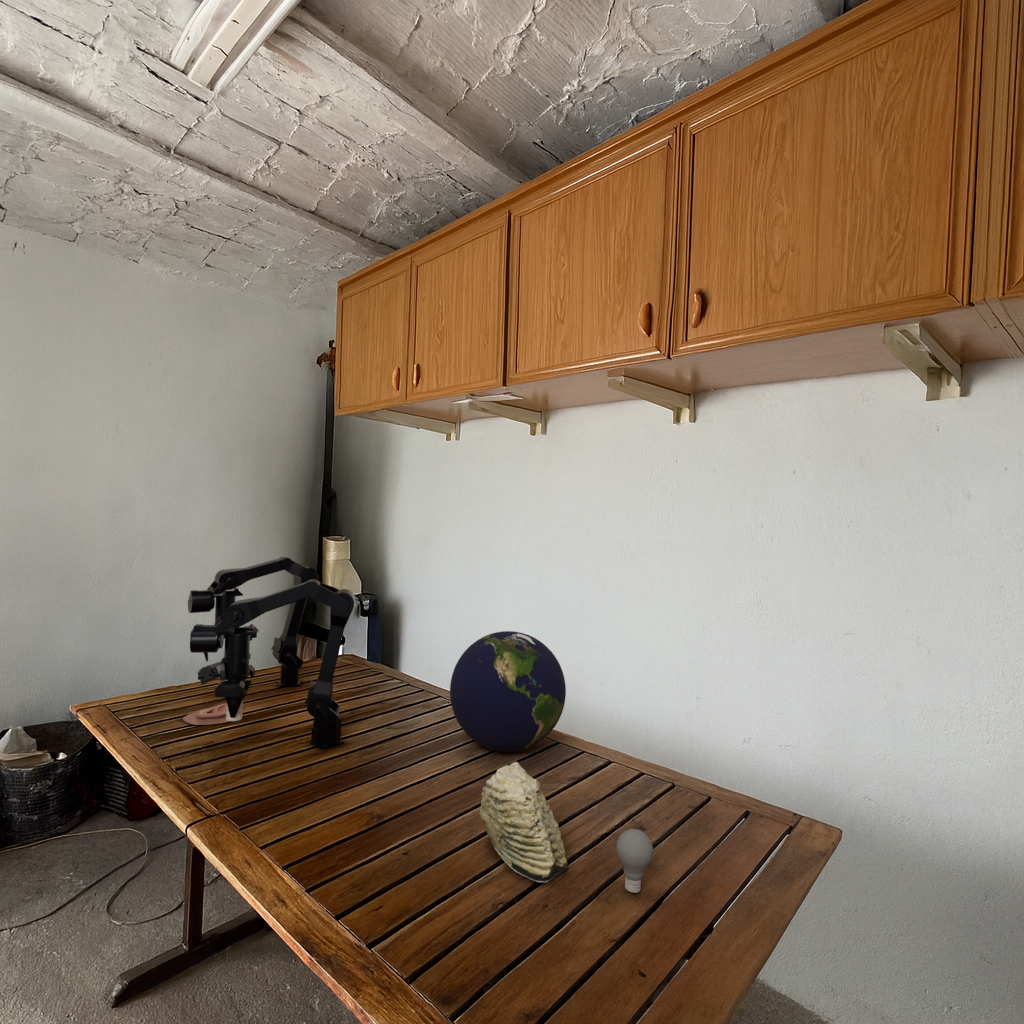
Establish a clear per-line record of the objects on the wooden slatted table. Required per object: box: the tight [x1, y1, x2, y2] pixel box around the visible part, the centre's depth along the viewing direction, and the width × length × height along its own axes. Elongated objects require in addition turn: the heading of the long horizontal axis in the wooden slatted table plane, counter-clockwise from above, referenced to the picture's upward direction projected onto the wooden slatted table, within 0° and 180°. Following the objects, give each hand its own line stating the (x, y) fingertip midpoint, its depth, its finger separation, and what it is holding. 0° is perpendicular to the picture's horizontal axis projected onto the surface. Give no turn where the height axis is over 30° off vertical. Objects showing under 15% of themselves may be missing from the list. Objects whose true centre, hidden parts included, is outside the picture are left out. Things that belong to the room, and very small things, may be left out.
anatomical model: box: [182, 702, 230, 726], centre depth 176 cm, size 13×4×12 cm
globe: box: [449, 630, 567, 753], centre depth 164 cm, size 30×30×30 cm
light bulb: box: [615, 828, 654, 894], centre depth 106 cm, size 6×6×10 cm
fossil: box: [479, 761, 569, 883], centre depth 114 cm, size 9×18×15 cm, turn 46°
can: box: [226, 700, 244, 722], centre depth 157 cm, size 4×4×5 cm
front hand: (234, 714), depth 157 cm, fingers closed on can, 4 cm apart
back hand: (223, 660), depth 197 cm, fingers open, 9 cm apart
